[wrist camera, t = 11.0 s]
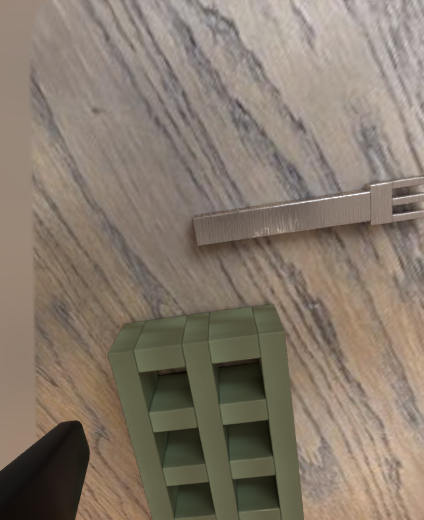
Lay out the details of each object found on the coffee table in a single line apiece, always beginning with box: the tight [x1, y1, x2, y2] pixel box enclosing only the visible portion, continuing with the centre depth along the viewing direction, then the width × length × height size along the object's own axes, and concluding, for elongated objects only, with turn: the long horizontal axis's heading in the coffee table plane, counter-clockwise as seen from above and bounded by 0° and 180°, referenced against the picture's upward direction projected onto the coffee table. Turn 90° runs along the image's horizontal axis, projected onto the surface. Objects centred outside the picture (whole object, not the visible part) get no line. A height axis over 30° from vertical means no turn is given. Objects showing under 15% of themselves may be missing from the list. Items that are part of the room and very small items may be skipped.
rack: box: [108, 304, 304, 520], centre depth 22 cm, size 9×13×4 cm
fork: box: [192, 176, 424, 246], centre depth 19 cm, size 1×2×13 cm
